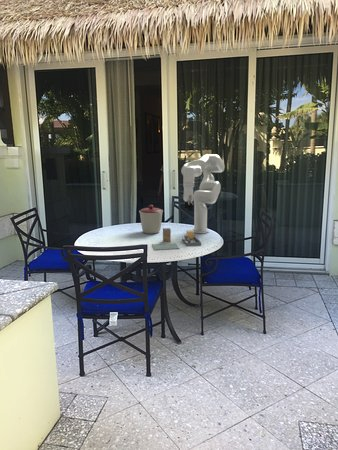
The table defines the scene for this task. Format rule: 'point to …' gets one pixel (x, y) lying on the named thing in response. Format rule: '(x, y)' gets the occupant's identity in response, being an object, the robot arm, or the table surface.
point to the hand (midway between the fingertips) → (188, 209)
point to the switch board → (191, 241)
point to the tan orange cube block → (190, 234)
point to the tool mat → (165, 246)
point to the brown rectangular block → (166, 234)
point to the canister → (151, 219)
